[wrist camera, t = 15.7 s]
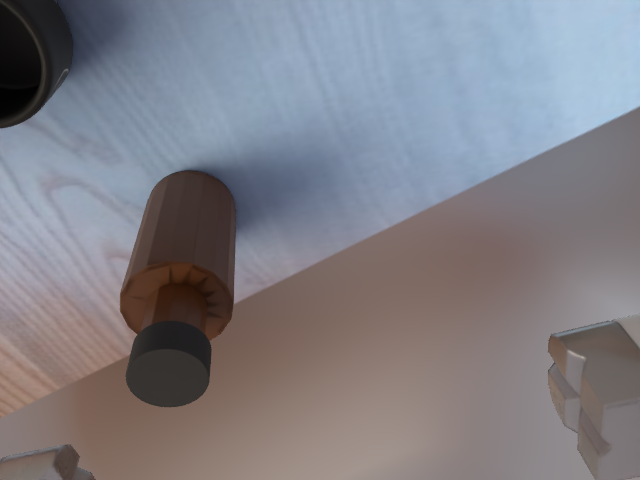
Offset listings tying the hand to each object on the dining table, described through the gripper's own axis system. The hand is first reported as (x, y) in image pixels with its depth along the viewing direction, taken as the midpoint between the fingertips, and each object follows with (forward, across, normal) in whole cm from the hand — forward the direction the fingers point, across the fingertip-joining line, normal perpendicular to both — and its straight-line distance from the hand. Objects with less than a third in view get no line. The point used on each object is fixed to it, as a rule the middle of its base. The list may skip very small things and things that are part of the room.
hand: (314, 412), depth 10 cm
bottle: (+37, +10, +15) cm, 41 cm away
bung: (+22, +10, +15) cm, 28 cm away
